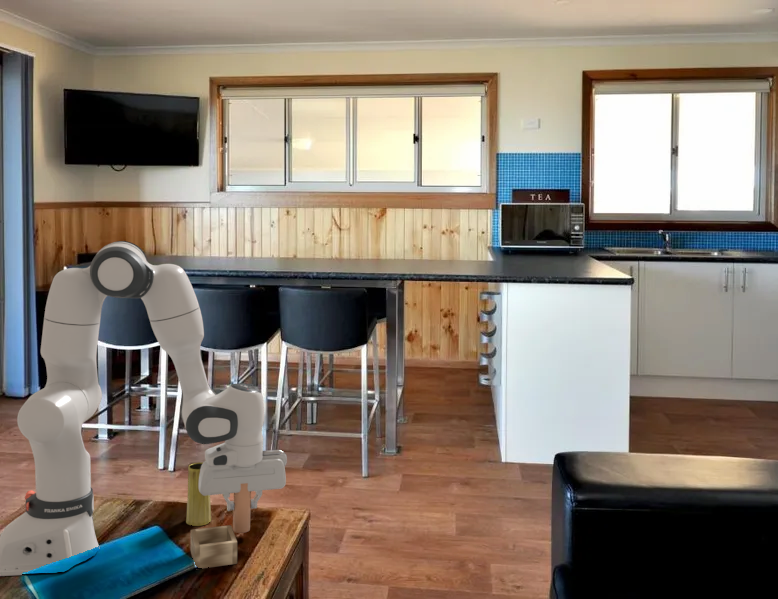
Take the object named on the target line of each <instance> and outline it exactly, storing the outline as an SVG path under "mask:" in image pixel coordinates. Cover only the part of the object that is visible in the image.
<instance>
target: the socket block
mask: <svg viewBox="0 0 778 599" xmlns="http://www.w3.org/2000/svg"><path fill="white" fill-rule="evenodd" d="M190 554H191V557H192V558H193V559H192V558H191V559H192V561H193V560H194V562H195V565H196V566H197V567H198V568H202V569H209V568H216V567H222V566H228V565H229V566H230V565H236V564H238V540H237V538H236V534H235V532H234V531H233V526H232V525H230V524H229V525H222V526H221V525H220V526H213V527H212V526H211V527H203V528H196V529H190ZM208 567H209V568H208Z"/></svg>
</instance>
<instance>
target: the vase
mask: <svg viewBox="0 0 778 599" xmlns="http://www.w3.org/2000/svg"><path fill="white" fill-rule="evenodd" d="M202 464H203V462H194V463H191V464H188V467H187V470H188V472H187V473H188V474H187V501H186V502H187V503H186V519H185V523H186V524H187V525H189V526H191V525H192V526H193V527H201V526H202V527H203V526H205V525H208V524H209V522H210V523H211V521H212V511H211V507H212V504H211V495H206V496H203V495H202V494H201V493H200V492H199V488H198V483H199V474H200V469H201V466H202Z"/></svg>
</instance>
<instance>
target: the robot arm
mask: <svg viewBox="0 0 778 599" xmlns="http://www.w3.org/2000/svg"><path fill="white" fill-rule="evenodd" d="M107 297H111V298H114V299H115V298H118V299H141V301H142V303H143V304H144V306H145V310H146V312H147V316H148V319H149V322H150V323H149V324H150V327H151V329H152V331H153V334H154V336H155V338H156V340H157V342H158V344H159V346H160V348H161V349H162V350H163V351H164V352H165V353H166V354H168V355H169V357H170V358H171V360H172V363H173V365H174V368H175V370H176V371H175V372H176V375H177V377H178V382H179V386H180V389H181V400H180V405H179V412H180V414H179V415H180V417H181V420H182V422H183V424H184V428H185V431H186V433H187V435H188V437H189V438H190V440H192V441H193V442H195V443H197V444H201V445H210V444H217V443H221V442H222V443H221V444H217V445H215V446H212V447H210V448H207V449H205V451H204V461H203V462H202V463H203V464H202V466H201V469H200V474H199V483H198V488H199V492H200V493H201V494H202V495H203V496H206V495H210V496H215V495H222V497H223V499H224V500H225V502H226V510H227V512H231V511H233V510H234V500H230V499H229V498H230V497H231V494H234V493H238V492H240V490H241V484H245V483H248V491H249V492H250V491H251V492H254V493H255V495H254V497H253V498H251V510H253V509H257V508H258V502H259V500H260V499H261V497H262V496H263V491H269V490H279V489H280V490H282V489H283V488H284V487H285V486H286V484H287V478H286V469H285V468H286V467H285V466H286V465H287V462H288V457H287V453H286V452H284V451H282V450H281V449H274V450H271V449H270V450H264V436H263V431H262V430H263V427H264V421H265V404H264V396H263V393H262V391H261V390H260V389H259V388H257V387H256V386H253V385H251V384H248V383H247V384H246V383H243V382H241V383H239V382H238V383H232V384H230V385H229V386H228V387H227V388H225V389H223V390H222V391H221V392H219V393H216V392H215V390H214V389H213V388H212V387H211V386H210V384H209V381H208V379H207V375H206V371H205V367H204V363H203V360H202V356H201V344H202V342H203V339H204V338H205V330H204V328H205V327H204V321H203V315H202V311H201V308H200V304H199V301H198V298H197V295H196V293H195V290H194V288H193V285H192V283H191V281H190V278H189V276H188V274H187V273H186V271H185V270H184V268H182V267H181V266H179V265H178V264H173V263H162V264H157V265H156V264H154V265H153V264H151V263H149V261H148V258H147V255H146V254H145V251H144V250H143V249H142V248H141V247H139V246H138V245H137V244H136V243H133V242H131V241H127V240H119V241H114V242H110V243H108V244H106V245H104V246H103V247H102V248H101V249H100V250H98V251H97V253H96V254H95V256H94V257H93V259H92V261H91V263H90V265H89V266H87V267H84V268H83V267H82V268H81V267H71V268H66V269H62V270H60V271H59V272H57V273H56V274H55V275H54V277H53V279H52V282H51V284H50V288H49V291H48V295H47V299H46V304H45V308H44V310H45V311H44V317H43V324H42V335H41V342H40V344H41V345H40V355H41V358H43V361H44V363H45V367H46V376H47V377H46V378H47V379H46V384H45V385H44V388H42V389H40V390H38V391H36V392H34V393H33V394H31V395H30V396H29V397H28V399H27V400H25V402H24V403H23V404H22V405H21V407H20V409H19V411H18V413H17V417H16V418H17V419H16V420H17V427H18V429H19V431H20V433H21V434H22V436H23V437H25V439H27V440H28V443H29V445H30V448H31V453H32V456H33V460H34V472H35V474H34V476H35V491H34V490H31V489H30V490H28V491H27V492H26V493H25V496H24V499H25V507H24V508H25V512H23V513H22V514H21V515H19V516H18V517H17V518H15V519H14V520H12V521H11V522H10V523H9V524H8V525H6V526H5V527H4V528H3V530H2V532H1V533H0V577H5V576H6V577H7V576H23V575H22V573H23V572H28V571H30V570H33V569H36V568H39V567H41V566H44V565H46V564H50V563H52V562H56V561H59V560H62V559H65V558H69V557H71V556H74V555H77V554H79V553H83V552H85V551H87V550H91V549H93V548H95V547H98V546H99V547H100V545H99V542H98V540H97V536H96V532H95V527H94V520H93V514H94V509H95V507H94V505H95V501H94V500H95V499H94V490H93V487H92V481H91V480H92V477H91V476H92V475H91V467H92V466H91V461H92V460H91V454H90V453H89V452H88V451H87V449H86V447H85V444H84V440H83V437H82V427H83V424H84V423H86V421H88V420H89V419H90V418H92V417H93V415H94V414H95V413H96V411H97V410H98V408H99V406H100V404H101V403H102V398H103V392H102V388H101V386H100V384H99V379H98V377H99V376H98V368H97V367H98V365H97V364H98V363H97V353H98V343H99V335H100V334H99V333H100V326H101V317H102V310H103V304H104V302H105V300H106V298H107Z"/></svg>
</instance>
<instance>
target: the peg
mask: <svg viewBox="0 0 778 599" xmlns="http://www.w3.org/2000/svg"><path fill="white" fill-rule="evenodd" d="M251 499H252V491H250V492H249V491H248V483H245V484H241V490H240V492H238V493H233V502H234V510H232V511H233V512H232V517H233V518H232V529H233V532H234V533H238V534H244V533H247V532H249V531H250V530H251V510H252V509H251Z"/></svg>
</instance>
